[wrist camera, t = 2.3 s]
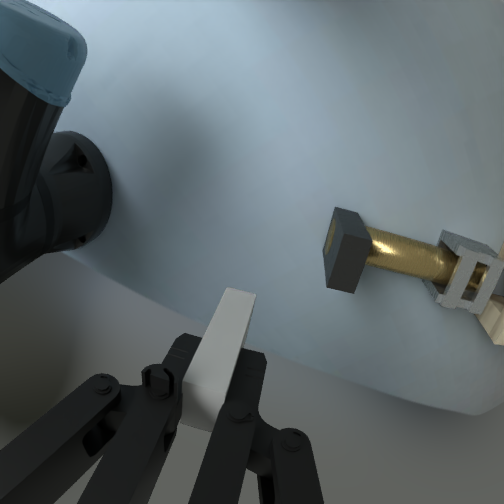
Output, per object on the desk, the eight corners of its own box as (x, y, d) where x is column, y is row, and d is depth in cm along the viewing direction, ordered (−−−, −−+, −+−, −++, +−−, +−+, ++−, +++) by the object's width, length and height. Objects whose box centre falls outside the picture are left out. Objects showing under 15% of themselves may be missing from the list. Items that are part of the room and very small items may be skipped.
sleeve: (422, 281, 32) (436, 305, 27) (442, 229, 29) (462, 247, 25) (466, 292, 31) (483, 315, 27) (487, 245, 29) (508, 263, 24)
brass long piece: (322, 250, 32) (326, 287, 25) (334, 206, 30) (343, 233, 23) (461, 285, 31) (489, 322, 24) (477, 249, 29) (510, 281, 22)
